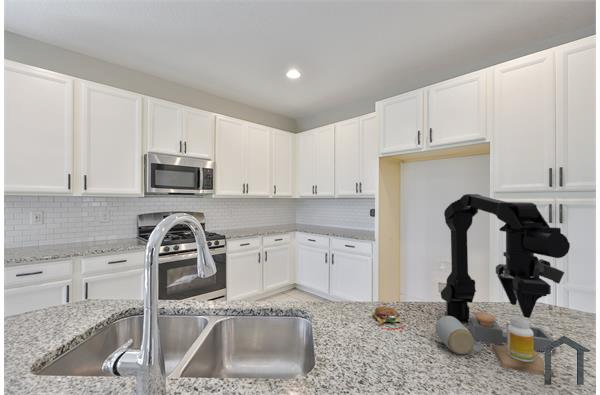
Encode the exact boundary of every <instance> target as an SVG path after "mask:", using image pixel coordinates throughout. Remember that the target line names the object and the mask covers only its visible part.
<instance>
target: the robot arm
mask: <svg viewBox="0 0 600 395" xmlns="http://www.w3.org/2000/svg"><path fill="white" fill-rule="evenodd" d="M479 210H480V211H483V212H486V213H489V214H492V215H494V216H496V218H497V220H499V221H501V222H502V223H505V224H504V225H503V226H501V227H500V228H499V231H500V232H505V251H503V253H502V254H503V257H505V263H503V264H502V263H498V264H497V265H496V266H495V274H496V277H497V278H498V280H499V282H500V284H501V286H502V288H503V290H504V292H505V295H506V297H507V298H508V301H509V303H510V305H512V306H516V305H517V304H518V305H519V308H520V311H521V313H522V315H523V318H525V319H528V318H531V316H532V313H533V311H534V308H535V306H536V303H537V301H538V300H539V299H541V298H543V297H547V296H548V295H551V293H552V292H551V290H552V288H551V285H550V284H549V283H548V282H547V281H545V280H543V279H542V278H545V279H547V280H551V281H553V282H554V283H556V284H560V282H561V280H562V278H563V277H564V274H565V271H564V270H563V271H562V270H560V269H558V268H556V267H553V266H552V265H551V262H550V261H547V260H545V259H542V258H540V259H539V258H538V256H536V255H540V256H546V257H551V258H554V259H561V258H564V257H565V256H566V255H567V254H568V253H569V251H570V248H571V244H570V242H569V240H568V238H567V236H566V235H565V234H563V233H562V228H561V227H551V226H550V225H549V224H548V222H547V221H546V219H545V218H544V216H543V215H542V213H541V212H540V211H539V209H538V207H537V204H536V203H533V202H524V201H523V202H522V201H521V202H520V201H518V202H517V201H504V200H499V199H496V198H493V197H492V198H491V197H489V196H488V197H487V196H484V195H481V194H478V193H468V194H467V193H466V194H463V195H462V196H461V197H460V198H459V199H457V200H455V201H453V202H451V203H450V204H449V205H448V206H447V207H446V208H445V210H444V213H443V214H444V215H443V216H444V220H445V225H446V226H447V227H448V229H449V230H450V252H451V254H450V255H451V257H450V259H451V261H450V262H451V272H450V274H449V275H448V276H447V278H446V285H445V287H444V288H443V289H442V290H441V291H440V296H441V300H443V301H445V306H446V307H445V312H444V313H445V316H452V317H454V318H456V319H457V320H459V322H460V323H467V324H468V323H469V324H470V306H469V305H468V303H473V301H474V297H475V294H476V293H477V290H476V281H475V279H472V277H471V276H470V274H469V261H468V260H469V259H468V257H469V256H468V251H469V250H468V231H469V229H470V228H471V226H472V225H473V220H474V219H473V218H474V217H475V216H476V215H477V214H478V213H479ZM540 277H542V278H540Z"/></svg>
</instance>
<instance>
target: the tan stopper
mask: <svg viewBox="0 0 600 395" xmlns="http://www.w3.org/2000/svg"><path fill="white" fill-rule="evenodd" d="M474 318H476V319H478V323H479V324H480V325H484V326H491V327H492V323H494V322H497V320H496V319H497V318H496V316H495V315H493V314H490V313H487V312H483V311H482V312H478V311H477V312H475V314H474Z"/></svg>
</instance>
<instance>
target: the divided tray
mask: <svg viewBox="0 0 600 395" xmlns="http://www.w3.org/2000/svg"><path fill="white" fill-rule="evenodd" d="M510 324H511V322H507V323H506V328H507V327H508V325H510ZM529 328H530V329H531V330H532V331H533V335H534V351H536V352H539V350H540V349H542V348H544V347H545V346H547V345H549V344H551V343H553V342H555V341H556V340H555V339H554V338H553V337H552V336H551V335H550V334H549V333H548V332H547V331H545V330H544V329H543V328H542V327H538V326H537V327H536V326H532V325H530V327H529ZM469 332H470V333H471V335H472V336H473V339H474V340H475V341H479V342H480V341H481V342H485V343H486V342H487V343H492V344H498V345H503V344H504V343H507V332H504V330H503V329H502V328H501V326H500V325H499V324H498V322H497V321H496V322H494V323H492V327H491V326H484V325H480V324H479V323H478V319H476V318H475V317H470V316H469ZM552 354H553V355H556V348H555V349H553V350H552Z"/></svg>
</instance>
